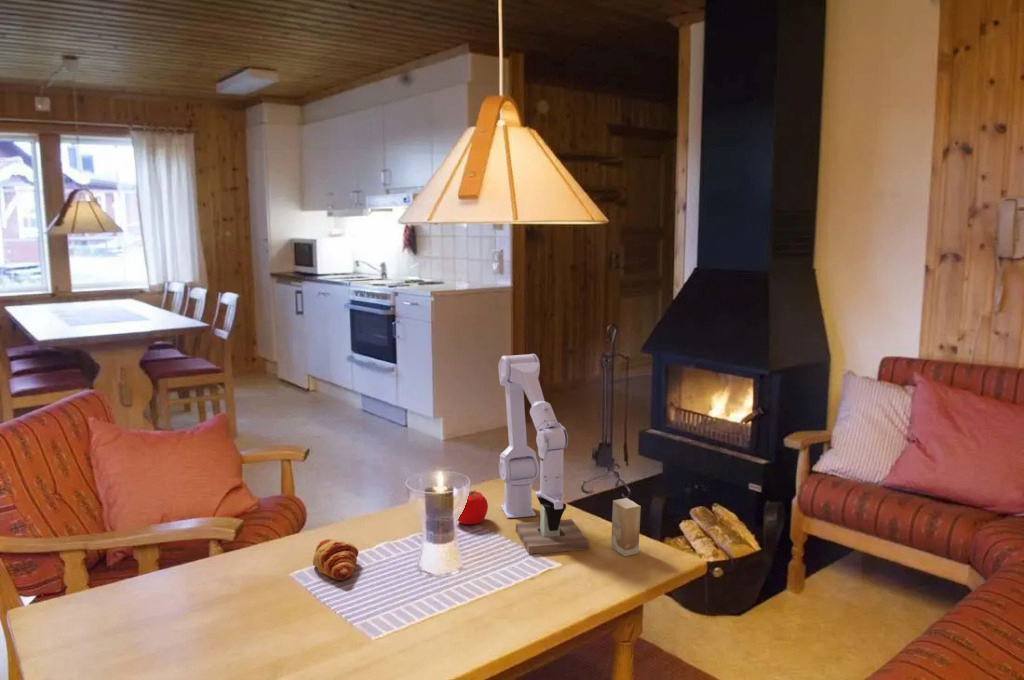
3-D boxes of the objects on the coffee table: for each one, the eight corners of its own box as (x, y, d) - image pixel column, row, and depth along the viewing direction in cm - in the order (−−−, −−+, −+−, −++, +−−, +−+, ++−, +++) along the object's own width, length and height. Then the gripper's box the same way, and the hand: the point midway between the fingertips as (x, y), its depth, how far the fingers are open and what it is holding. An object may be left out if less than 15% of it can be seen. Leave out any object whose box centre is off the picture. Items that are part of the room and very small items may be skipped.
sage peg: (540, 534, 199) (540, 504, 198) (555, 533, 200) (555, 503, 199) (544, 540, 195) (544, 509, 194) (559, 539, 196) (560, 508, 195)
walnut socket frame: (515, 530, 203) (515, 523, 203) (571, 526, 206) (571, 519, 206) (528, 554, 189) (528, 546, 188) (588, 549, 192) (588, 541, 192)
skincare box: (610, 547, 193) (611, 499, 191) (625, 544, 195) (626, 497, 193) (624, 557, 187) (625, 508, 186) (639, 554, 189) (641, 505, 187)
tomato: (448, 527, 206) (448, 496, 204) (459, 513, 215) (459, 484, 214) (482, 530, 203) (482, 499, 202) (492, 516, 213) (492, 486, 212)
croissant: (315, 565, 191) (298, 540, 188) (351, 540, 194) (334, 515, 191) (334, 601, 172) (316, 573, 169) (373, 573, 175) (356, 545, 172)
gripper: (529, 466, 201) (529, 517, 203) (543, 485, 187) (542, 539, 189) (556, 465, 203) (555, 515, 205) (571, 483, 189) (570, 537, 191)
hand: (551, 526), depth 197 cm, fingers closed on sage peg, 4 cm apart
